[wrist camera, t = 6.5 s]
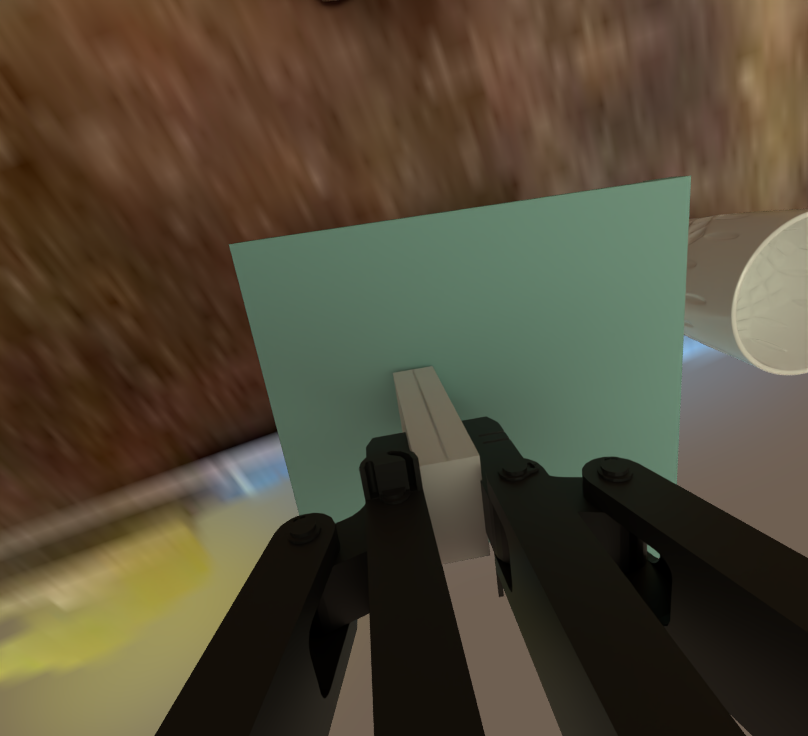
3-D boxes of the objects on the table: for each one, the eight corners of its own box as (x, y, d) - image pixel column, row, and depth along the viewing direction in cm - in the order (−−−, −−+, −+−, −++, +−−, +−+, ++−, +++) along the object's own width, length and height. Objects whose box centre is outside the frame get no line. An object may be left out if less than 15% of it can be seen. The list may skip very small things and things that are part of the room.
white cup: (631, 346, 33) (744, 399, 23) (606, 237, 30) (720, 247, 21) (738, 303, 32) (895, 339, 23) (722, 190, 30) (891, 178, 20)
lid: (326, 492, 24) (302, 524, 21) (266, 237, 20) (229, 244, 17) (660, 514, 19) (673, 558, 16) (671, 176, 15) (690, 175, 12)
